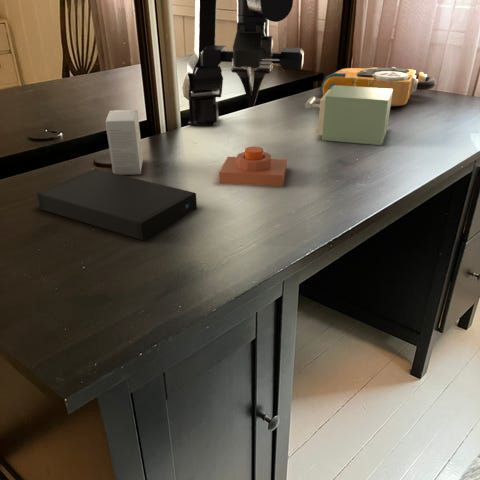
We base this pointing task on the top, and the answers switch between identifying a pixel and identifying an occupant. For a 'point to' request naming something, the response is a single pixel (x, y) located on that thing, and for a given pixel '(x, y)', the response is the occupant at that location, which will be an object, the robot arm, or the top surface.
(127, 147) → the small box
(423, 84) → the device
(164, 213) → the external hard drive
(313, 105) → the drawer
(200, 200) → the top surface
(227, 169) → the block
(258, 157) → the button
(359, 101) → the sage green box
